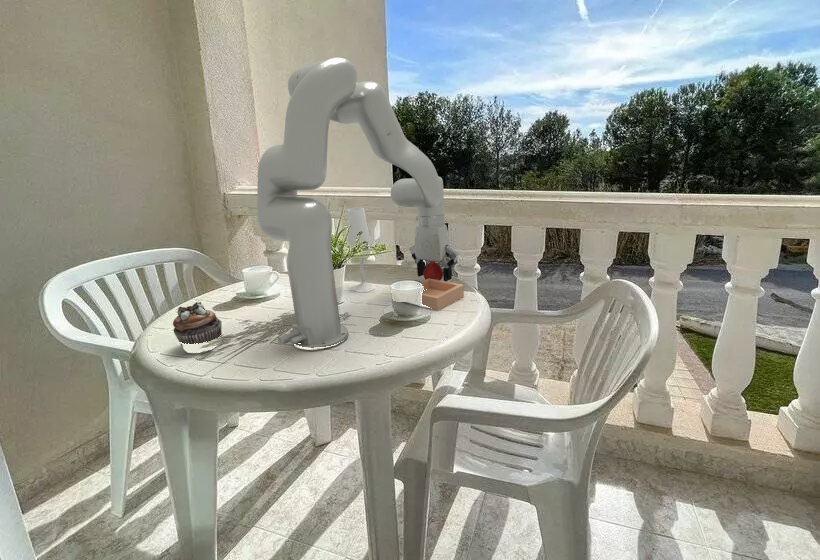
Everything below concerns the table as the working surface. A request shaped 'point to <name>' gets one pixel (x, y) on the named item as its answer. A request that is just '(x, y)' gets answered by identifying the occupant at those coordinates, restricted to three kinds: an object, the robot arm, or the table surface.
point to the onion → (433, 271)
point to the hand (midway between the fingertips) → (434, 277)
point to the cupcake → (196, 324)
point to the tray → (440, 293)
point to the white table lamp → (360, 224)
